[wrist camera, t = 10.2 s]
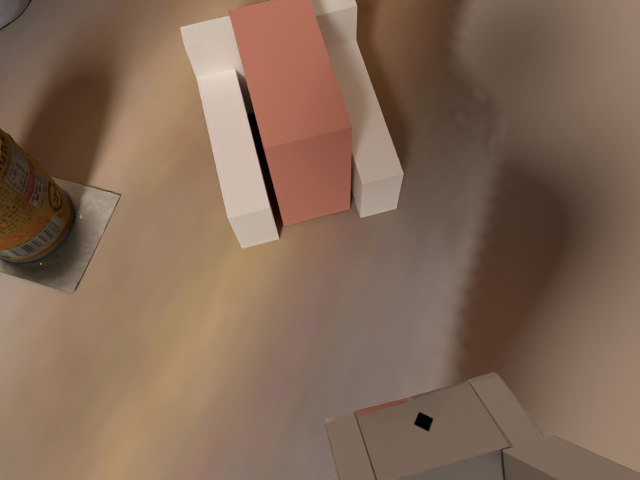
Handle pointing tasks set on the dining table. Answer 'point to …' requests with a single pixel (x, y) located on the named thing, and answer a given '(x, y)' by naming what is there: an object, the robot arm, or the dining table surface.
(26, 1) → the pillar candle
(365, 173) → the dock
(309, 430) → the dining table surface
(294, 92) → the plug
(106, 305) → the dining table surface
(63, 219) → the condiment
